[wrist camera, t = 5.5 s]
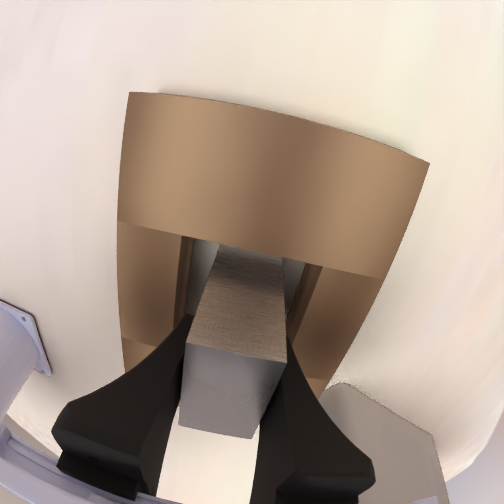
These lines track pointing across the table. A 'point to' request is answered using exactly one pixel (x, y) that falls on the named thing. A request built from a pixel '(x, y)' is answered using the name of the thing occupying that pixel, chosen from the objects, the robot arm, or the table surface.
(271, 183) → the well block
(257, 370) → the brushed metal block
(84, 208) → the table surface
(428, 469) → the tall grey carton
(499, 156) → the table surface
